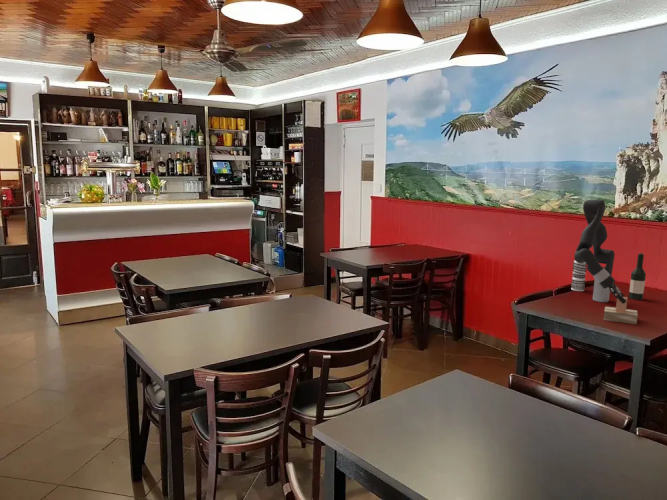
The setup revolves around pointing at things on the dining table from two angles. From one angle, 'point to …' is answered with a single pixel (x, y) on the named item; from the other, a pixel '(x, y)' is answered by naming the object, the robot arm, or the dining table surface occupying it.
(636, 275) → the wine bottle
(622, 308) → the terracotta block
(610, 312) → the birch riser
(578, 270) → the leaning tower model
